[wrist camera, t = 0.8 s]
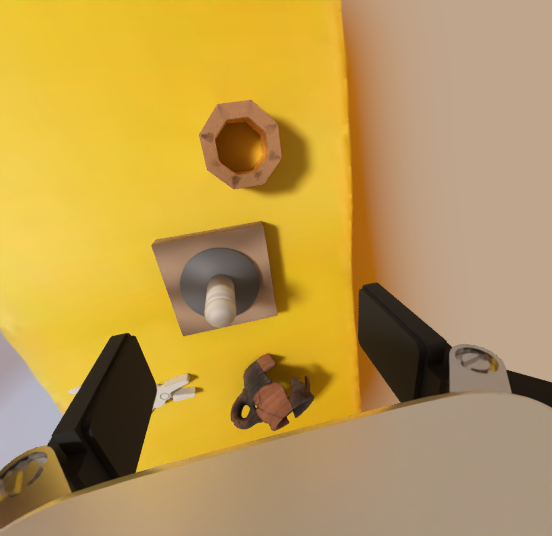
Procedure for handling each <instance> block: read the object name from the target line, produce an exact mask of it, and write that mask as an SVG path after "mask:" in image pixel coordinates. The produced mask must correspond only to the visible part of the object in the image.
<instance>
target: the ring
mask: <svg viewBox="0 0 552 536" xmlns="http://www.w3.org/2000/svg"><path fill="white" fill-rule="evenodd" d="M238 122H246V123H247V124H248V125H249V126H250V127H252V128H253V129H254V130H255V131H256V132H257V133H259V134H260V139H261V146H262V153H263V155H262V156H261V158H260V159H259V161H258V162H257V164H256V165H255V167H254V168H253V170H248V171H242V172H233V171H232V170H231V169H229V168H228V167H227V166H226V165H224V164H223V163H222V162H220V161H219V156H218V151H217V146H216V139H217V138H218V136H219V134H220V133H221V131H222V130H223V128H224V126H225V125H226V124H231V123H238ZM199 137H200V141H201V145H202V150H203V154H204V158H205V163H206V167H207V170H208V171H209V172H211V173H212V174H213V175H215V176H216V177H218V178H219V179H220V180H222V181H223V182H224V183H226V184H227V185H229V186H230V187H231V188H233V189H239V188H245V187H251V186H258V185H264V183H265V182H266V181H267V179H268V178H269V176H270V175H271V173H272V172H273V171H274V169H275V168H276V166H277V165H278V163H279V162H280V160H281V159H282V155H281V147H280V138H279V129H278V123H276V122H275V121H274V120H273V119H272V118H271V117H270V116H269V115H268V114H266V113H265V112H264V111H263V110H262V109H261V108H260V107H259V106H258V105H256V104H255V103H254V102H253V101H252V100H247V101H239V102H231V103H223V104H217V106H216V107H215V109H214V111H213V112H212V114H211V116H210V117H209V119H208V121H207V122H206V124H205V126H204V127H203V129H202V131H201V132H200V134H199Z"/></svg>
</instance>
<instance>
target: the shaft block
mask: <svg viewBox="0 0 552 536" xmlns="http://www.w3.org/2000/svg"><path fill="white" fill-rule="evenodd" d="M151 246H152V249H153V252H154V254H155V257H156V260H157V263H158V266H159V269H160V272H161V274H162V277H163V280H164V283H165V286H166V289H167V292H168V294H169V297H170V300H171V303H172V306H173V309H174V312H175V314H176V317H177V320H178V323H179V326H180V329H181V332H182V334H183V336H187V335H191V334H196V333H200V332H205V331H209V330H214V329H219V328H223V327H228V326H232V325H237V324H241V323H246V322H250V321H255V320H259V319H264V318H268V317H273V316H277V308H276V302H275V296H274V289H273V283H272V277H271V270H270V264H269V258H268V251H267V245H266V238H265V232H264V226H263V224H262V222H261V221H259V222H254V223H248V224H242V225H237V226H231V227H226V228H220V229H214V230H209V231H203V232H198V233H192V234H186V235H181V236H175V237H170V238H164V239H158V240H155V242H154V243H153V244H152V245H151Z"/></svg>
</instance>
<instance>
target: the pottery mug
mask: <svg viewBox="0 0 552 536" xmlns="http://www.w3.org/2000/svg"><path fill="white" fill-rule="evenodd" d="M275 365H276V363H275V361H274V360H273V359H272V357H271V356H270V355H269V354H266V355H263V356H262V357H260V358H259V359H257V360H256V361H255V362H254V363H252V364H251V365H250V366H249V367H248V368H247V369H246V371H245V373H244V376H243V378H244V386H245V388H244V389H243V391H242V393H241V394H240V396H239V397H238V398H237V399H236V401H235V402H234V404H233V406H232V410H231V421H233V422H234V425H235V426H236V427H237V428H239V429H248V428H250V427H252V426H253V425H255V424H256V423H261V422H263V421H264V422H265V423H268V424H269V425H270V427H271V430H272V431H275V430H278V429H280V428H282V427H284V426H285V425H287V424H289V421H288V419H287V416H288V415H289V414H290V413H291V412H292V411H293V413H294V416H295V418H297V417H298V416H300V415H301V414H302V413H303V412H304V411H305V410H306V409H307V408H308V407H309V405H310V404H311V403H312V401H313V399H314V396H313V395H312V394H311V392H310V383H309V379H308V377H307V376H305V385H304V384H303V383H302V382H300V380H299V379H298V378H291V384H292V386H291V391H290V394H289V397H287V395H286V393H285V390H284V387H283V385H281V384H280V383H278V382H273V383H272V381H271V380H270V379H269V378H268V377H267V376H266V372H267V371H268V370H269V369H271V368H272V367H274V366H275ZM254 403H255V404H254ZM245 405H248V406H249V407H250V411H249V414H248V416H247V417H246V418H242V416H241V413H242V409H243V407H244V406H245ZM255 405H256V406H258V407H257V408H255Z"/></svg>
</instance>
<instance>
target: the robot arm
mask: <svg viewBox="0 0 552 536" xmlns="http://www.w3.org/2000/svg"><path fill="white" fill-rule="evenodd" d="M358 329H359V330H358V340H359V344H360V346H361V347H362V349H363V350H364V351H365V353H366V354H367V356H368V357H369V358H370V360H371V361H372V363H373V364H374V365H375V367H376V368H377V370H378V371H379V373H380V374H381V375H382V377H383V378H384V379H385V381H386V382H387V384H388V385H389V387H390V388H391V389H392V391H393V392H394V393H395V395H396V397H397V398H398V399H399V401H400V402H401V403H399V404H394V405H391V406H386V407H382V408H378V409H374V410H371V411H367V412H363V413H359V414H355V415H351V416H347V417H343V418H339V419H335V420H332V421H328V422H324V423H320V424H316V425H312V426H308V427H305V428H301V429H297V430H293V431H289V432H286V433H282V434H278V435H274V436H270V437H267V438H263V439H259V440H255V441H251V442H248V443H244V444H240V445H236V446H233V447H229V448H225V449H221V450H218V451H214V452H210V453H207V454H203V455H199V456H195V457H192V458H188V459H184V460H181V461H177V462H173V463H169V464H166V465H162V466H158V467H155V468H151V469H148V470H144V471H141V472H137V473H135V472H136V469H137V465H138V461H139V457H140V454H141V450H142V446H143V443H144V439H145V435H146V432H147V428H148V424H149V420H150V417H151V413H152V409H153V406H154V402H155V398H156V395H157V386H156V383H155V380H154V378H153V376H152V373H151V371H150V369H149V366H148V364H147V362H146V359H145V357H144V355H143V352H142V350H141V348H140V345H139V343H138V341H137V339H136V337H135V336H131V335H130V334H129V333H125V334H120V335H116V336H112V337H111V338H110V339H109V341H108V342H107V344H106V346H105V347H104V349H103V351H102V352H101V354H100V356H99V357H98V359H97V361H96V362H95V364H94V366H93V367H92V369H91V371H90V372H89V374H88V376H87V377H86V379H85V381H84V382H83V384H82V386H81V387H80V389H79V391H78V392H77V394H76V396H75V397H74V399H73V401H72V402H71V404H70V406H69V407H68V409H67V411H66V412H65V414H64V416H63V417H62V419H61V421H60V422H59V424H58V426H57V427H56V429H55V431H54V432H53V434H52V438H51V440H50V442H49V443H48V445H47V446H41V447H36V448H33V449H31V450H28V451H26V452H25V453H23V454H21V455H19V456H18V457H16V458H15V459H13V460H12V461H11V462H10V463H8V464H7V465H6V466H5V467H4V468H3V469H2V470H1V471H0V536H552V382H548V381H545V380H541V379H537V378H534V377H530V376H527V375H523V374H519V373H516V372H512V371H509V370H506V368H505V365H504V363H503V361H502V360H501V359H500V358H499V357H498V356H497V355H495V354H494V353H492V352H491V351H489V350H487V349H484V348H482V347H479V346H475V345H468V344H462V345H457V346H454V347H451V346H450V345H449V344H448V343H447V341H446V340H445V339H444V338H443V337H441V336H440V335H439V334H438V333H437V332H435V331H434V330H433V329H432V328H431V327H429V326H428V325H427V324H426V323H425V322H424V321H422V320H421V319H420V318H419V317H418V316H416V315H415V314H414V313H413V312H412V311H411V310H409V309H408V308H407V307H406V306H404V305H403V304H402V303H401V302H400V301H399V300H397V299H396V298H395V297H394V296H393V295H392V294H390V293H389V292H388V291H387V290H386V289H384V288H383V287H382V286H381V285H380V284H378V283H371V284H366V285H363V287H362V289H360V290H359V321H358Z"/></svg>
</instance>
